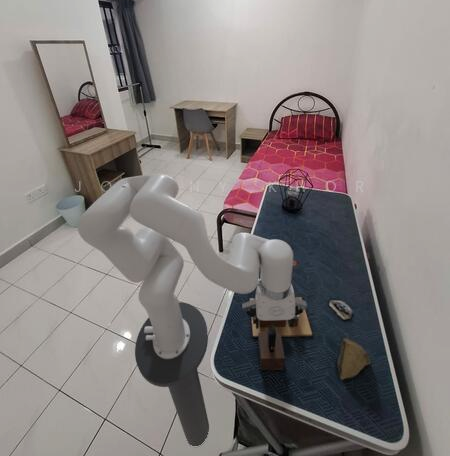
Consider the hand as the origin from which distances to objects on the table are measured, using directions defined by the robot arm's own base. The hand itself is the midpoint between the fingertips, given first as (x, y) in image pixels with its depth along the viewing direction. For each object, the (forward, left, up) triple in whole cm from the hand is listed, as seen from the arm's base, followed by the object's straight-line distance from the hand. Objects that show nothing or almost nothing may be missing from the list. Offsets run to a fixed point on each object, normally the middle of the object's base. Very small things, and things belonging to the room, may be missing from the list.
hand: (273, 322), depth 68 cm
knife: (0, 0, -18) cm, 18 cm away
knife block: (0, 0, -19) cm, 19 cm away
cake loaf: (+2, +12, -18) cm, 21 cm away
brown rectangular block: (+9, +12, -18) cm, 23 cm away
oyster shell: (+28, +14, -19) cm, 36 cm away
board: (+5, +12, -19) cm, 23 cm away
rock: (+25, -3, -19) cm, 31 cm away
